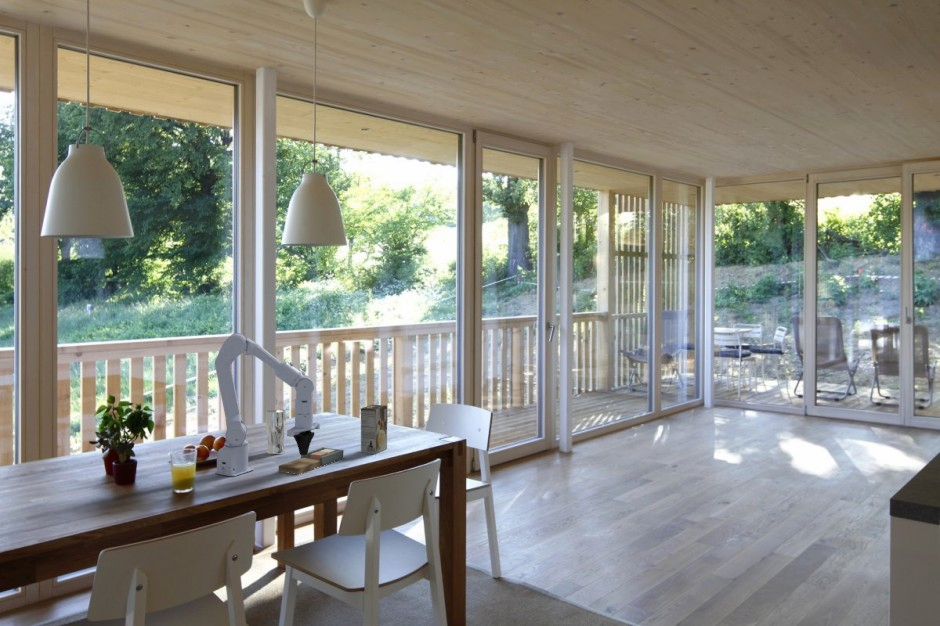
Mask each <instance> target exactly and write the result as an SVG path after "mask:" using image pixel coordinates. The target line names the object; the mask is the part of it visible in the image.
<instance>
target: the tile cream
mask: <svg viewBox="0 0 940 626" xmlns="http://www.w3.org/2000/svg"><path fill="white" fill-rule="evenodd" d="M331 449H332V448H331ZM331 449H324V450H321V451H319V452H325V453H327V454H330V453H333V452H335V450H331Z"/></svg>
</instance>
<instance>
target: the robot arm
mask: <svg viewBox="0 0 940 626" xmlns="http://www.w3.org/2000/svg"><path fill="white" fill-rule="evenodd" d="M244 352H245V356H251V357H252V356H253V357H255V358H257V359H258V360H260V361H262V362H263V363H264V364H266V365H267V366H269V367H270V368H271V369H273V370H274V372H275V373H274V375H275V377H277V378H278V379H280V380H281V381H282V382H284V383H285V384H286V385H288V386H289V387H291V388H295V399H294V402H295V403H294V426H293V427H292V428H289V429H287V430H286V436H287V437H291V438H292V437H293V438H294V440H295V442H296V445H297V448H298V453H299V455H300V456H301V455H307V453H308V452H309V449H310V445H311V443H312V440H313V438H314V436H315V432H314V431H315V430H320V427H321V424H320V423H319V422H314V419H313V418H314V399H313V397H314V393H313V392H314V389H315V386H314V383H313V380H312V379H311V378H310V376H309V375H306V373H305V372H304V371H302V372H301V371H300V370H299V368H296V367H295V366H294V363H293V362H291V361H290V362H288V361H287V360H286V361H280V360H279V359H278V358H276V357H275V356H274V355H273V354H271V353H270V352H269V351H267V349H265V348H264V347H262V346H261V345H260V344H259V343H257V341H254V340H252V339H251V338H249V337H246V336H245V335H244V334H242V333H240V332H239V333H238V332H236V333H232V334H230V336H228V338H227V339H225V340H224V342H223V343H222V346H221V347H220V349H219V351H218V354H217V356H216V358H215V359H214V360H215V361H214V367H215V372H216V376H217V382H218V386H219V392H220V397H221V400H222V401H221V402H222V406H223V407H222V408H223V412H224V416H225V417H224V418H225V426H226V432H225V435H224V437H225V442H224V445H223V446H222V447H221V448H219V449H218V451H217V453H216V471H215V472H214V474H216V475H222V476H229V477H237V476H240V475H243V474H246V473H249V472H251V471H255V468H254V467H249V441H248V440H247V432H248V428H247V425H246V424H245V423H244V421H243V418H242V415H241V414H242V413H241V411H240V405H239V400H238V396H237V395H238V394H237V391H236V386H235V385H236V384H235V380H234V375H233V371H232V364H233V363H234V361H235V360H236V358H238V357H239V356H241V355H242V354H243V353H244Z"/></svg>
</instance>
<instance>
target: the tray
mask: <svg viewBox="0 0 940 626" xmlns="http://www.w3.org/2000/svg"><path fill="white" fill-rule="evenodd" d="M324 449H331V450H335V452H333V453H330V454H327V455H325V456H322V457H320V460H322V467H324V465H325V466H327V465H326V464H328V465H330V464H332V463H331V462H333V463H335V462H334V461H336V462H338V461H337V460H339V459H341V460H343V459H344V449H337V448H330V447H320V448H316V449H314V450H310V451H308V453H307V455H300V458H308V459H310V454H312V453H315V452H319V451H321V450H324ZM342 458H343V459H342ZM339 461H340V460H339ZM329 463H330V464H329Z"/></svg>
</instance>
